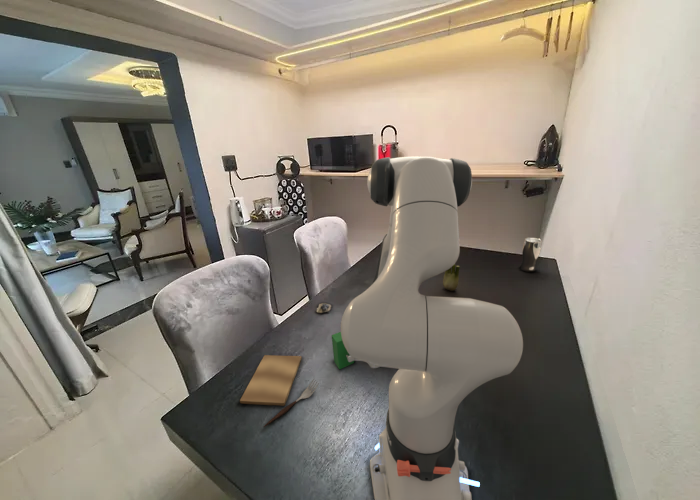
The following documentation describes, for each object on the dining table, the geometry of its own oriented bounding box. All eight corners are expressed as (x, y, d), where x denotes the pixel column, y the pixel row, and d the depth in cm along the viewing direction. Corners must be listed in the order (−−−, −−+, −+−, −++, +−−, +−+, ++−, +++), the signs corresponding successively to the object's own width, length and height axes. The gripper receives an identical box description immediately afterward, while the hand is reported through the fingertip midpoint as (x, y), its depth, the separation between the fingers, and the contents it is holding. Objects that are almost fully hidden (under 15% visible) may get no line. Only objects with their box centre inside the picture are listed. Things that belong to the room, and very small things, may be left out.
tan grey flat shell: (316, 315, 102) (316, 311, 101) (313, 304, 109) (313, 301, 108) (333, 312, 103) (333, 308, 103) (329, 301, 111) (329, 297, 110)
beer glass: (515, 268, 128) (521, 239, 122) (524, 264, 130) (530, 236, 125) (529, 273, 122) (536, 243, 116) (539, 270, 124) (546, 240, 119)
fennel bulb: (458, 290, 112) (461, 265, 107) (449, 293, 110) (451, 267, 106) (449, 284, 117) (451, 260, 113) (440, 287, 115) (442, 262, 111)
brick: (339, 369, 77) (336, 342, 73) (334, 361, 80) (331, 335, 76) (354, 362, 79) (352, 336, 75) (348, 355, 82) (346, 329, 78)
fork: (261, 425, 63) (259, 419, 62) (314, 383, 73) (313, 377, 72) (266, 432, 61) (264, 426, 60) (320, 388, 71) (319, 383, 70)
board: (284, 405, 67) (284, 403, 66) (240, 403, 68) (239, 400, 68) (301, 358, 82) (301, 356, 81) (264, 357, 83) (264, 355, 83)
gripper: (362, 308, 90) (325, 321, 84) (400, 343, 73) (356, 363, 67) (363, 323, 92) (327, 337, 86) (399, 361, 75) (357, 381, 69)
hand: (340, 349), depth 77 cm, fingers open, 7 cm apart
